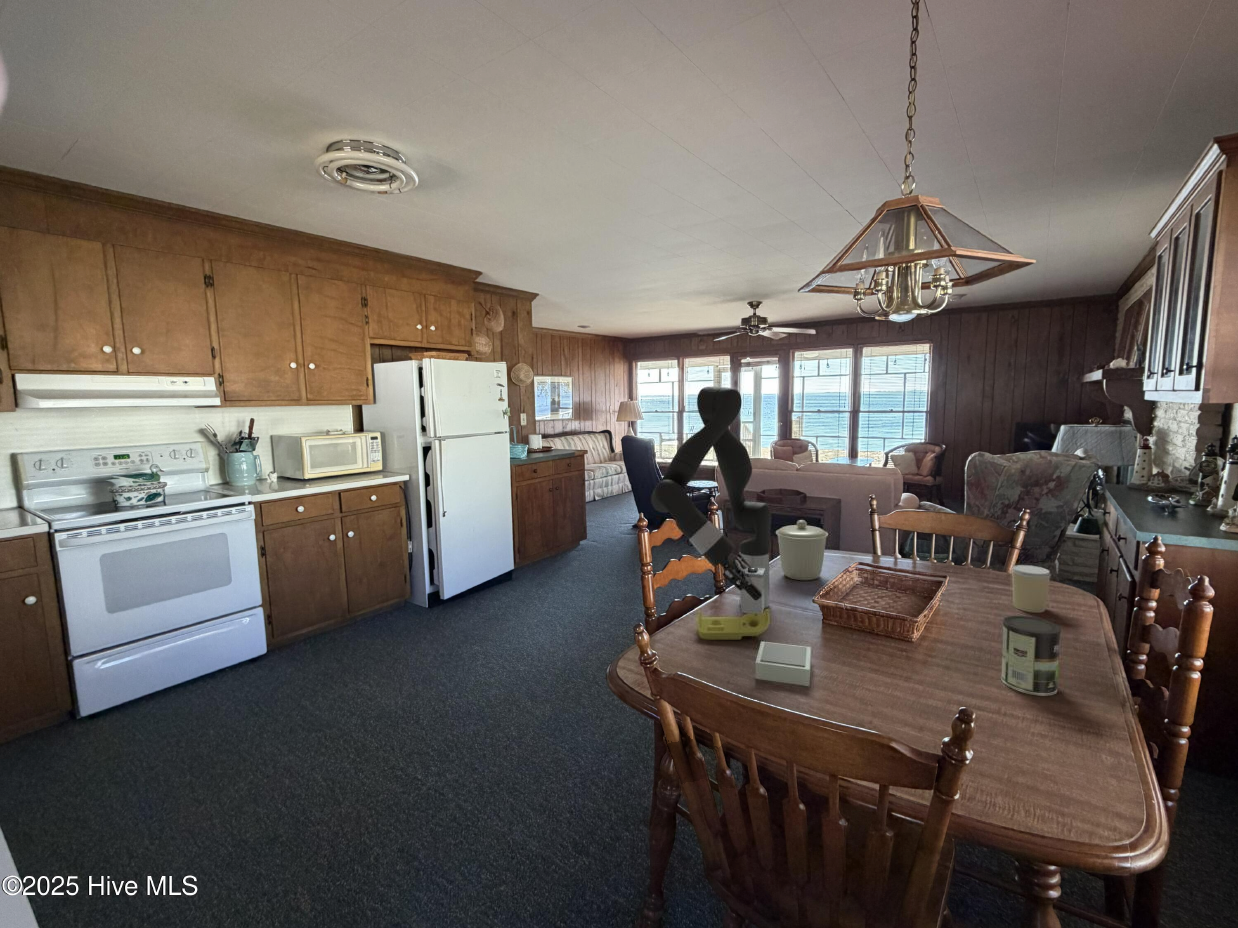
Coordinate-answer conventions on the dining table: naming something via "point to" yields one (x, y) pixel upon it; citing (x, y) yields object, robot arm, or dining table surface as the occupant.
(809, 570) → the canister
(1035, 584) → the cream jar
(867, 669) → the dining table surface
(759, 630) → the plastic component
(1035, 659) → the coffee can
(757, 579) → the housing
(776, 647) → the stand
